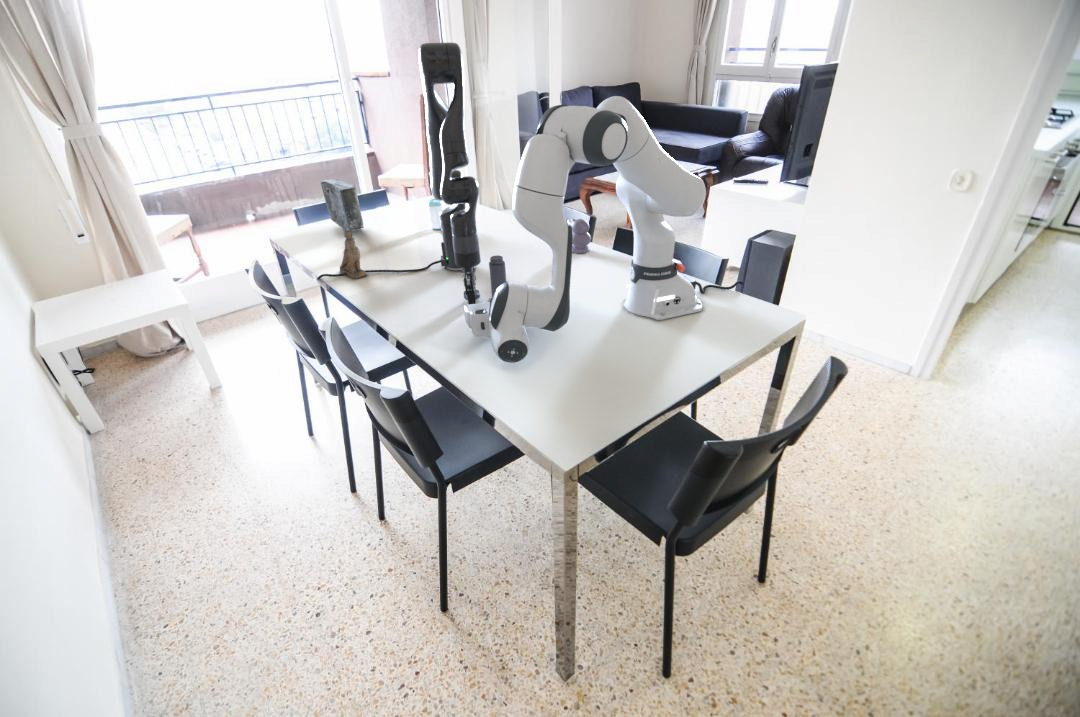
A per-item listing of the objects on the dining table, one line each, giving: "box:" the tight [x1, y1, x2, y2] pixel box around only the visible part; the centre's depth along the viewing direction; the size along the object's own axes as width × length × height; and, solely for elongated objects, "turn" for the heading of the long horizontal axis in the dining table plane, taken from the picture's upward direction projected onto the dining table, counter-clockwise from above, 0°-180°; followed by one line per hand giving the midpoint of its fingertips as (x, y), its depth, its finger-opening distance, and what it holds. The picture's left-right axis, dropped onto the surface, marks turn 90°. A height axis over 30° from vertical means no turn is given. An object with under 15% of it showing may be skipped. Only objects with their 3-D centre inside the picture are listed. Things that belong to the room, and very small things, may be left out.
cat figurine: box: [570, 218, 592, 254], centre depth 188 cm, size 8×8×12 cm
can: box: [426, 198, 445, 230], centre depth 220 cm, size 7×7×12 cm
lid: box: [463, 288, 481, 301], centre depth 153 cm, size 5×5×2 cm
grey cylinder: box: [488, 255, 507, 296], centre depth 137 cm, size 4×4×19 cm
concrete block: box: [320, 178, 365, 232], centre depth 221 cm, size 27×9×20 cm, turn 36°
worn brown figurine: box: [339, 230, 367, 280], centre depth 174 cm, size 12×6×18 cm, turn 43°
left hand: (472, 301), depth 154 cm, fingers closed on lid, 4 cm apart
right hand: (499, 299), depth 139 cm, fingers closed on grey cylinder, 4 cm apart
